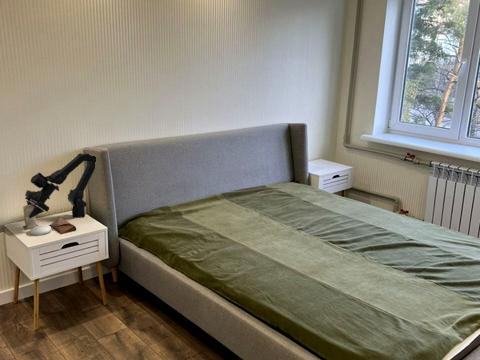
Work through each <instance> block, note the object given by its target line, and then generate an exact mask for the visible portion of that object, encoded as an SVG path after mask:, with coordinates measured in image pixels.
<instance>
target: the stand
mask: <svg viewBox="0 0 480 360" xmlns="http://www.w3.org/2000/svg"><path fill="white" fill-rule="evenodd" d="M29 230H30V234H31V236H44V235H49V234H50V233H51V232H52V227H50V226H48V225H45V224H41V225H38V226H35V227H32V228H31V229H29Z"/></svg>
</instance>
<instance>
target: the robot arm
mask: <svg viewBox="0 0 480 360" xmlns="http://www.w3.org/2000/svg"><path fill="white" fill-rule="evenodd" d="M89 154H90V153H82V152H81V153H80V152H79V153H78V154H77V155H76V156H75V157H74V158H73V159H72V160H70V161H69V162H68V163H67V164H65V166H63V167H61V168H60V169H57V170H55V171H54V172H52V173H51V174H50V175H47V176H45V175H43V174H42V173H41V172H37V173H36V174H35V175H34V176H33V175H32V177H31V179H30V183H31V184H33V185H34V186H36V187H37V188H38V189H40V190H37V191H35V190H33V191H32V190H28V189H27V190H26V192H25V195H24V196H25V198H24V199H25V200H26V204H27V205H33V206H34V209H33V211H32V212H31V214H30V216H29V218H32V217H34V216H35V217H36V216H38V215H39V214H42V213H45V212H46V213H48V212H49V210H50V206H48V205H47V204H46V202H47V201H48V200H50V199H51V195H52V194H53V193H54V192H55V191H58V192H59V191H60V186H59V185H62V184H63V183H64V182H65V181H66V180H67V179H68V178H67V177H68V176H69V175H70V174H71V173H72V172H73V171H75V169H77V168H78V167H79V166H80V165H81V164H83V163H84V162H86V166H85V169H84V171H83V173H82V175H81V177H80V179H79V180H78V182H77V184H76V187H75V188H74V189H70V191H69V193H67V201H68V202H69V203H70V204H71V205H72V208H71V214H72V218H85V216H86V214H87V213H86V207H87V202H86V201H84V200H83V199H84V194H85V193H84V192H85V189H86V188H87V185H88V184H89V182H90V179H91V178H92V176H93V174H94V172H95V170H96V169H95V162H96V157H95V156H91V155H89ZM94 169H95V170H94ZM27 205H26V206H27Z"/></svg>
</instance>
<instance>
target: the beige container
mask: <svg viewBox="0 0 480 360" xmlns="http://www.w3.org/2000/svg"><path fill="white" fill-rule="evenodd" d="M22 209H23V211H22V212H23V219H24V220H23V221H24V225H23V226H22V227H23V228H24V230H27V231H28V230H30V229H31V228H32V227H35V226H39V225H38V224H37V220H36V218H37V217H36V216H34V217H32V218H29V216H30V214H31V212H32V211H33V209H34V206H33V205H23V206H22Z"/></svg>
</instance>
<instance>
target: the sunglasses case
mask: <svg viewBox="0 0 480 360" xmlns="http://www.w3.org/2000/svg"><path fill="white" fill-rule="evenodd" d="M48 226H50V227H51V229H54V230H55V231H57V232H58V233H59V234H60V235H65V234H68V233H73V232H76V231H77V227H76V226H75V225H74V224H73V223H71V222H69V221H67V220H66V219H64V218H62V217H61V216H60V217H58V219H56V220H55V221H52V222H51V223H50V224H49V225H48Z"/></svg>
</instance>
